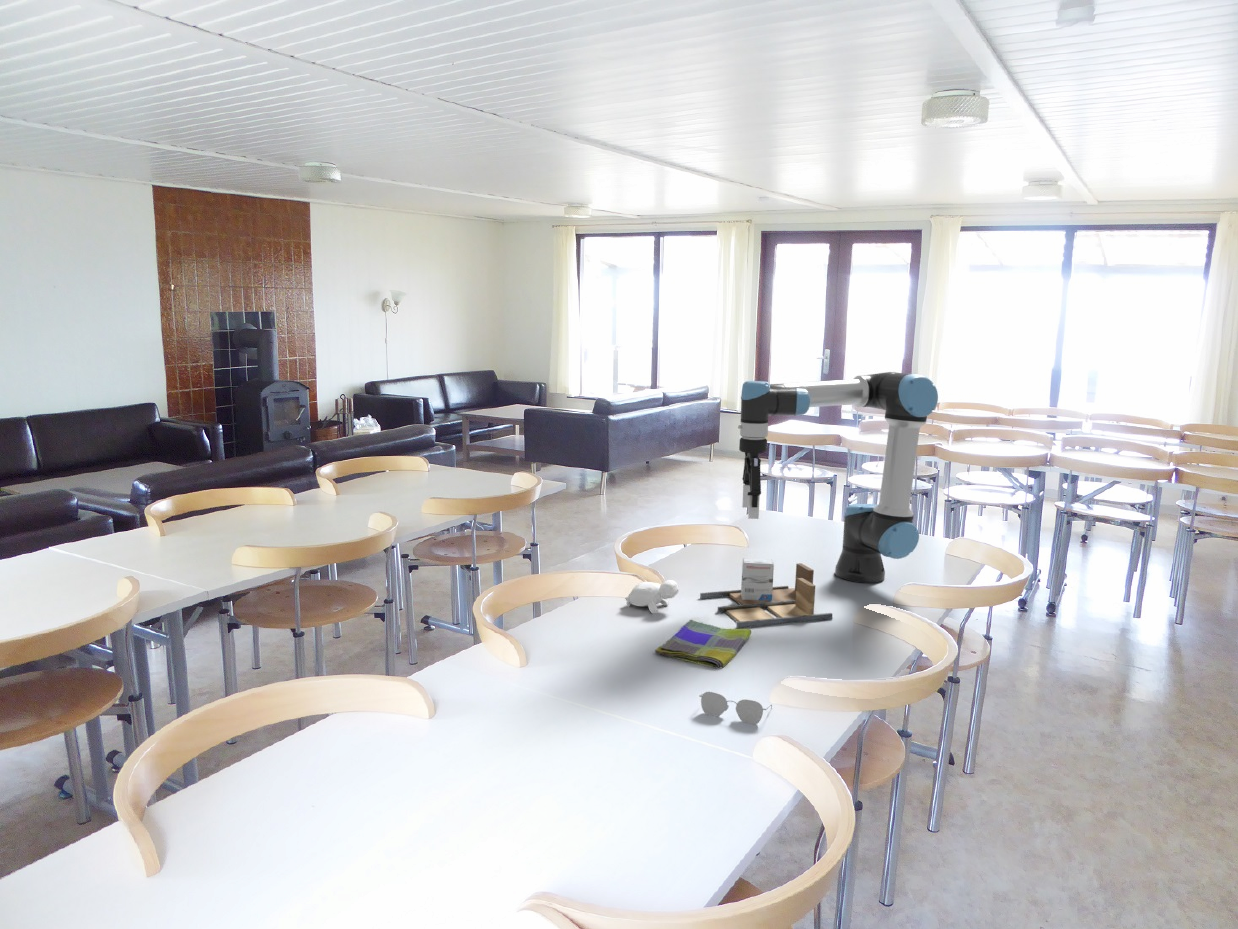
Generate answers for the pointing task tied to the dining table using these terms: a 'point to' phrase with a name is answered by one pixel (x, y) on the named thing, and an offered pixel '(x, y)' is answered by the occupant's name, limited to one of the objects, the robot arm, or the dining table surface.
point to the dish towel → (705, 644)
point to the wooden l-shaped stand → (782, 606)
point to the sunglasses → (744, 708)
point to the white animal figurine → (652, 594)
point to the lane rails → (764, 606)
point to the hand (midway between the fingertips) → (750, 512)
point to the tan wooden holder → (781, 594)
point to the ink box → (757, 579)
